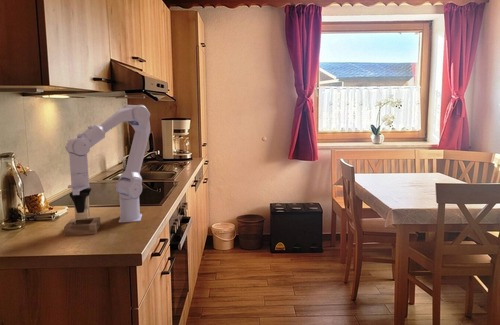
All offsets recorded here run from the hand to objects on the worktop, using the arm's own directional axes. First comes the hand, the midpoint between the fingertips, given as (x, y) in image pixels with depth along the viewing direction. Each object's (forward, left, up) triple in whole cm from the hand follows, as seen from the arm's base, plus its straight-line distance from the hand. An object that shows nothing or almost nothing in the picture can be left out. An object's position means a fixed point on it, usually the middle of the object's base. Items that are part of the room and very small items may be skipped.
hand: (82, 210), depth 145 cm
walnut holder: (0, 0, -7) cm, 7 cm away
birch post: (0, 0, -2) cm, 2 cm away
